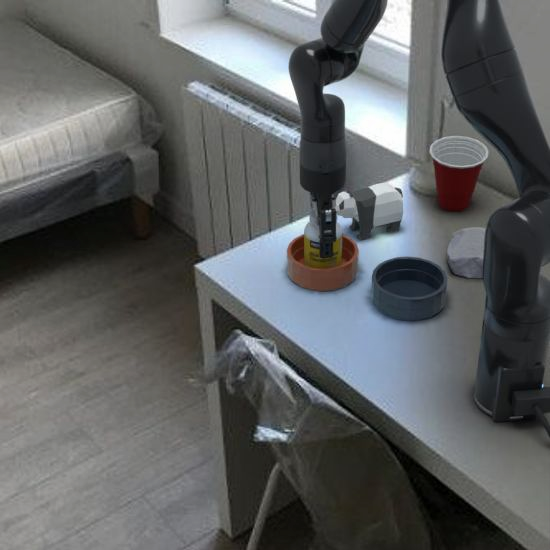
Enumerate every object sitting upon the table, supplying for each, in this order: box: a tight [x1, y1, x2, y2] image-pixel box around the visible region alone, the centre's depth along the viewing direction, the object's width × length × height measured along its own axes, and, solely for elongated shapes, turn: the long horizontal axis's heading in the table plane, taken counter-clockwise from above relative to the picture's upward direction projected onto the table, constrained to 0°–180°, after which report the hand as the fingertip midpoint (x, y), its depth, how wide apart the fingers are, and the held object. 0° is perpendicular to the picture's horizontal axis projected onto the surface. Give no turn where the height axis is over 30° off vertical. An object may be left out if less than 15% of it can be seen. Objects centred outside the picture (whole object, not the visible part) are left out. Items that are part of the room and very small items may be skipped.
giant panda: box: [335, 182, 404, 241], centre depth 176 cm, size 15×6×10 cm, turn 111°
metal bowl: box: [370, 256, 449, 321], centre depth 160 cm, size 12×12×4 cm
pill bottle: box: [303, 209, 343, 268], centre depth 165 cm, size 6×6×12 cm
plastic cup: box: [429, 135, 489, 213], centre depth 182 cm, size 11×11×12 cm
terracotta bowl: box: [286, 233, 360, 292], centre depth 167 cm, size 12×12×4 cm
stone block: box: [446, 226, 486, 279], centre depth 169 cm, size 12×5×10 cm
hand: (322, 243), depth 165 cm, fingers open, 8 cm apart
